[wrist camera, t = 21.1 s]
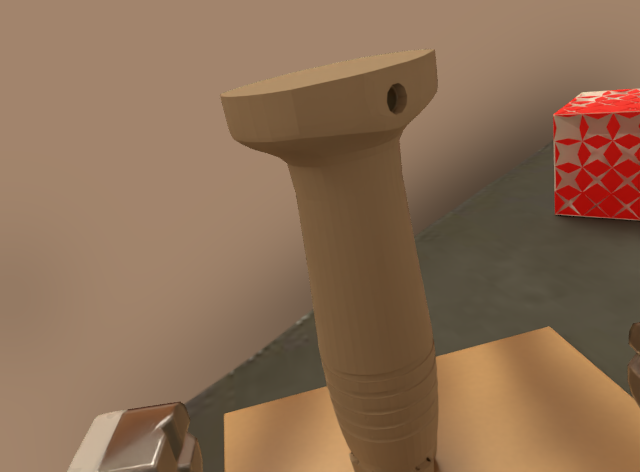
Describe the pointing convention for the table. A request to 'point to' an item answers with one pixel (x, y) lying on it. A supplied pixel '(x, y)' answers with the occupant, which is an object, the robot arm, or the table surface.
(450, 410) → the oak board
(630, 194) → the red and white cube
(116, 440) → the robot arm
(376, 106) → the handle
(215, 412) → the table surface
